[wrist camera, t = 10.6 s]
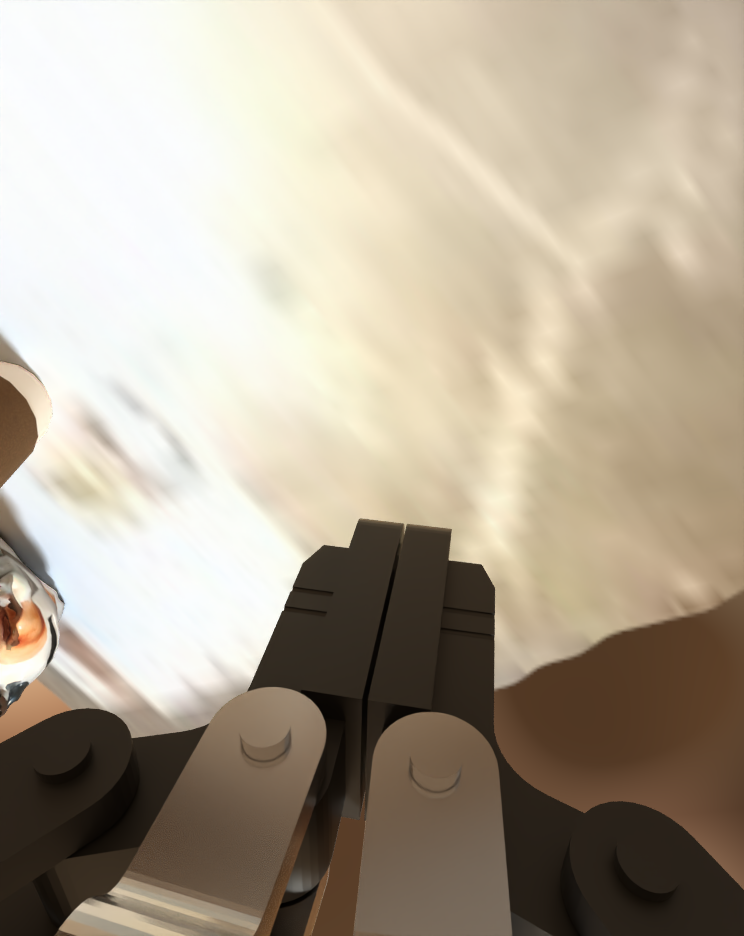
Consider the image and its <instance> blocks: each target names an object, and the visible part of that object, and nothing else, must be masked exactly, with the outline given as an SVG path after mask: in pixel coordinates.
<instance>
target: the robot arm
mask: <svg viewBox="0 0 744 936" xmlns="http://www.w3.org/2000/svg"><path fill="white" fill-rule="evenodd" d="M451 531H452V529H446V528H438V527H430V526H421V525H413V524H407V526H406V530H405V535H404V524H403V523H394V522H386V521H377V520H369V519H359V521H358V523H357V526H356V529H355V532H354V535H353V538H352V540H351V543H350V546H349V548H343V547H335V546H327V545H323V546H322V547H321V548H320V549H319V550H318V551H317V552H315V553H314V554H313V555H312V556H311V557H310V558H308V559H307V560H306V561H305V562H304V563H303V564H302V567H301V569H300V571H299V574H298V576H297V578H296V580H295V583H294V585H293V590H292V591H291V592H290V594H289V597H288V599H287V601H286V604H285V608H284V611H282V613H281V615H280V618H279V620H278V622H277V625H276V627H275V629H274V632H273V634H272V636H271V639H270V641H269V643H268V646H267V648H266V650H265V653H264V655H263V657H262V659H261V662H260V664H259V666H258V669H257V671H256V673H255V676H254V678H253V680H252V683H251V685H250V687H249V689H248V691H247V692H245V693H243V694H241V695H238V696H237V697H235V698H233V699H232V700H230V701H229V702H228V703H226V704H225V705H224V706H223V707H222V708H221V709H220V710H219V711H218V712H217V713H216V714H215V716H214V717H213V719H212V720H211V722H210V723H209V724H207V725H205V726H202V727H199V728H196V729H193V730H188V731H183V732H177V733H169V734H162V735H154V736H146V737H139V738H131V734H130V731H129V729H128V727H127V725H126V724H125V723H124V722H123V721H122V719H120V718H119V717H117V716H116V715H115V714H112V713H110V712H108V711H104V710H100V709H89V708H86V709H76V710H71V711H66V712H63V713H60V714H57V715H55V716H52V717H50V718H48V719H46V720H44V721H42V722H40V723H38V724H36V725H34V726H32V727H30V728H28V729H27V730H25V731H23V732H21V733H19V734H17V735H15V736H13V737H11V738H10V739H8V740H6V741H4V742H2V743H0V936H311V934H312V930H313V927H314V924H315V921H316V918H317V914H318V911H319V907H320V904H321V901H322V897H323V894H324V890H325V887H326V884H327V879H328V875H329V865H330V862H331V859H332V855H333V851H334V847H335V842H336V838H337V833H338V829H339V824H340V820H341V817H346V818H351V819H357V820H359V819H360V814H361V809H362V805H363V799H364V794H365V821H366V825H365V834H364V844H363V852H362V861H361V871H360V880H359V889H358V898H357V907H356V916H355V926H354V935H353V936H744V890H743V889H742V888H741V887H740V885H739V884H738V883H737V882H736V881H735V880H734V879H733V878H732V877H731V876H730V875H729V874H728V873H727V872H726V871H725V870H724V869H723V868H722V867H721V866H720V865H719V864H718V863H717V862H716V860H715V859H714V858H713V857H712V856H711V855H710V854H709V853H708V852H707V851H706V850H705V849H704V848H703V847H702V846H701V845H700V844H699V843H698V842H697V841H696V840H695V839H694V838H693V837H692V836H691V835H690V834H689V833H688V832H687V831H686V830H685V829H684V828H683V827H682V826H680V825H679V824H677V823H676V822H675V821H673V820H672V819H671V818H669V817H667V816H665V815H664V814H662V813H660V812H659V811H656V810H654V809H652V808H649V807H647V806H643V805H640V804H636V803H631V802H623V801H621V802H620V801H619V802H608V803H604V804H600V805H598V806H595V807H593V808H591V809H590V810H589V811H587V812H586V813H583V812H581V811H579V810H577V809H575V808H572V807H571V806H569V805H567V804H564V803H562V802H560V801H558V800H556V799H554V798H552V797H550V796H548V795H546V794H544V793H543V792H541V791H539V790H537V789H535V788H534V787H533V786H531V785H530V784H528V783H527V782H526V781H525V780H523V779H522V778H521V777H520V776H519V775H518V774H517V773H516V772H515V771H514V770H513V769H512V767H511V766H510V765H509V764H508V763H507V761H506V759H505V758H504V756H503V755H502V753H501V751H500V749H499V747H498V744H497V742H496V737H495V733H494V635H495V619H494V615H495V587H494V585H493V584H492V582H491V580H490V578H489V577H488V575H487V573H486V571H485V570H484V568H483V566H482V565H481V564H473V563H465V562H457V561H449V550H450V541H451Z"/></svg>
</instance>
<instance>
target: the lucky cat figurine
mask: <svg viewBox="0 0 744 936" xmlns="http://www.w3.org/2000/svg"><path fill="white" fill-rule="evenodd" d="M64 604H65V603H63V602H62V601H60V599H59V598H58V595H57V592H56V591H55V590H54V589H52V588H51V587H49V586H48V585H47V584H45V583H44V582H42V581H41V580H40V579H39V578H38V577H37V576H36V575H35V574H34V573H33V572H32V571H31V570H30V569H29V568H28V567H27V566H25V565H24V564H23V563H22V561H21V560H20V559H19V558H18V556H17V555H16V554H15V552H14V551H13V550H12V549H11V548H10V547H9V546H8V545H7V544H6V543H5V542H4V541H3V540H2V539H1V538H0V717H1V716H2V715H4V714H5V713H6V711H7V709H8V708H9V706H10V705H11V704H12V703H13V702H15V701H17V700H18V699H19V698H20V696H21V694H22V692H23V691H24V689H25V688H26V687H27V686H28V685H29V684H30V683H31V682H32V681H34V680H35V679H36V678H37V677H38V676H39V675H40V674H41V673H42V671H43V670H44V668H46V667H47V666H48V665H49V663H50V662H51V661H52V659H53V657H54V654H55V652H56V650H57V648H58V645H59V635H60V631H59V623H58V622H59V620H60V618H61V616H62V613H63V610H64Z"/></svg>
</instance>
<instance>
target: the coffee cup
mask: <svg viewBox="0 0 744 936" xmlns="http://www.w3.org/2000/svg"><path fill="white" fill-rule="evenodd" d="M52 414H53V412H52V403H51V399H50V397H49V395H48V393H47V391H46V388H45V386H44V385H43V384H42V383H41V382H40V381H39V380H38V379H37V378H36V377H35V375H34V374H32V373H31V372H29V371H27V370H26V369H24V368H23V367H21V366H19V365H15V364H11V363H7V362H1V361H0V488H1V487H2V486H3V484H4V483H5V482H6V481H7V480H8V479H9V478H10V477H11V475H12V474H13V473H14V472H15V471H16V470H17V469H18V468H19V466H20V465H21V464H22V463H23V462H24V461H25V460H26V459H27V457H28V456H29V455H30V454H31V453H32V452H33V450H34V447H35V445H36V443H37V442H38V441H39V440H40V439H41V438H42V437H43V436H44V434H45V433H46V432H47V429H48V427H49V424H50V421H51V418H52Z"/></svg>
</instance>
